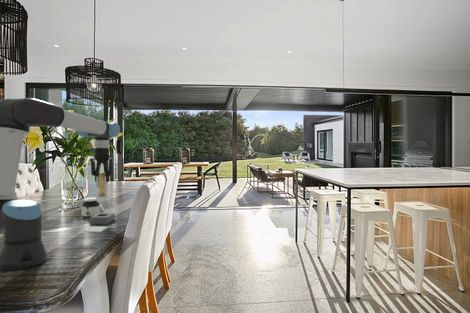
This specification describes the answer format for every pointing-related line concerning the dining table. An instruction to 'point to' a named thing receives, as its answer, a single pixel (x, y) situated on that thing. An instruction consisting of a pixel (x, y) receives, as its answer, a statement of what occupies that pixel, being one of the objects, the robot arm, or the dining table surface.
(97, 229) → the mat
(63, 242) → the dining table surface
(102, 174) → the plug
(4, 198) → the robot arm
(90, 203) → the spread jar
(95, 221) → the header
